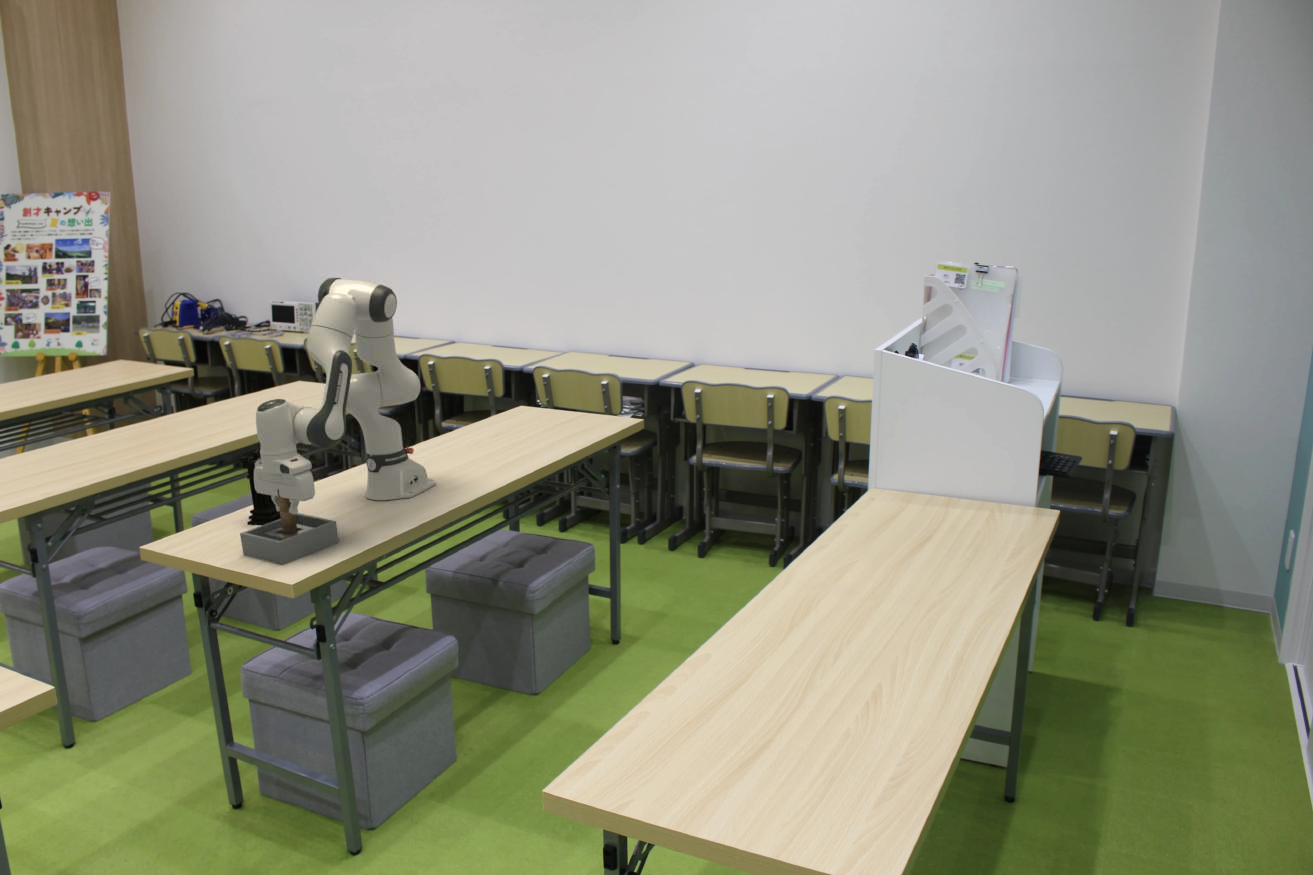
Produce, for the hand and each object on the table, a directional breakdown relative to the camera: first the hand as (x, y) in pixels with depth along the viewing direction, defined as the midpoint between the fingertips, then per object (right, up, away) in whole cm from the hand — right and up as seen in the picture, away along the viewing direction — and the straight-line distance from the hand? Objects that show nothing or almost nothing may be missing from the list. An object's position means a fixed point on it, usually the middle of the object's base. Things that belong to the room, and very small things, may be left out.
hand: (287, 512), depth 248 cm
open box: (0, -10, +3) cm, 10 cm away
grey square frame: (0, -9, +3) cm, 9 cm away
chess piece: (-16, -5, +26) cm, 31 cm away
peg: (0, -5, +1) cm, 5 cm away
